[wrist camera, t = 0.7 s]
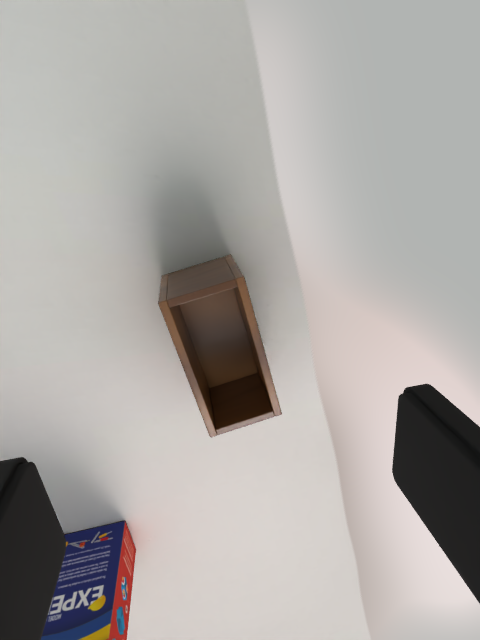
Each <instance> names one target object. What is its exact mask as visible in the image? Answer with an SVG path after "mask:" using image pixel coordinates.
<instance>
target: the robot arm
mask: <svg viewBox="0 0 480 640" xmlns="http://www.w3.org/2000/svg"><path fill="white" fill-rule="evenodd" d="M392 470H393V476H394V479H395V481H396V483H397V485H398V486H399V488H400V489H401V491H402V492H403V494H404V495H405V497H406V498H407V499H408V501H409V502H410V503H411V505H412V507H413V508H414V510H415V511H416V512H417V514H418V515H419V516H420V518H421V520H422V521H423V522H424V524H425V525H426V527H427V528H428V530H429V531H430V532H431V534H432V535H433V537H434V538H435V540H436V541H437V543H438V544H439V546H440V547H441V548H442V550H443V551H444V553H445V554H446V555H447V557H448V558H449V560H450V561H451V563H452V564H453V566H454V567H455V568H456V570H457V571H458V573H459V574H460V576H461V577H462V579H463V580H464V582H465V583H466V584H467V586H468V587H469V589H470V590H471V592H472V593H473V594H474V596H475V597H476V599H477V600H478V602H479V603H480V427H479V426H478V425H477V424H475V423H474V422H473V421H472V420H471V419H470V418H469V417H467V416H466V415H465V414H464V413H463V412H462V411H460V410H459V409H458V408H457V407H456V406H454V405H453V404H452V403H451V402H450V401H449V400H448V399H446V398H445V397H444V396H443V395H442V394H441V393H440V392H438V391H437V390H436V389H435V388H434V387H432V386H431V385H429V384H423V385H418V386H412V387H407V388H405V390H404V393H403V394H401V395H400V396H399V399H398V410H397V422H396V433H395V446H394V457H393V468H392ZM65 552H66V539H65V536H64V533H63V531H62V528H61V526H60V524H59V521H58V519H57V516H56V514H55V511H54V509H53V507H52V504H51V502H50V499H49V497H48V494H47V492H46V490H45V487H44V485H43V482H42V480H41V477H40V475H39V473H38V470H37V468H36V466H35V464H34V463H33V462H27V460H26V459H25V458H22V457H21V458H15V459H10V460H4V461H0V640H41V637H42V634H43V630H44V627H45V623H46V620H47V616H48V613H49V609H50V606H51V602H52V599H53V595H54V592H55V588H56V585H57V581H58V578H59V574H60V570H61V567H62V563H63V560H64V556H65Z"/></svg>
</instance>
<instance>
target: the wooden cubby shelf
mask: <svg viewBox="0 0 480 640" xmlns="http://www.w3.org/2000/svg"><path fill="white" fill-rule="evenodd" d="M158 304H159V307H160V309H161V312H162V314H163V317H164V320H165V322H166V325H167V327H168V330H169V332H170V335H171V338H172V340H173V343H174V345H175V348H176V350H177V353H178V356H179V358H180V361H181V363H182V366H183V368H184V371H185V374H186V376H187V379H188V381H189V384H190V386H191V389H192V392H193V394H194V397H195V399H196V402H197V404H198V407H199V410H200V412H201V415H202V417H203V420H204V422H205V425H206V428H207V430H208V433H209V435H210V437H213V436H217V435H220V434H223V433H226V432H229V431H232V430H235V429H238V428H241V427H244V426H247V425H250V424H253V423H257V422H260V421H263V420H266V419H269V418H272V417H274V416H278V415H281V414H282V413H281V409H280V406H279V402H278V398H277V395H276V391H275V387H274V384H273V380H272V376H271V373H270V369H269V365H268V362H267V358H266V355H265V351H264V347H263V344H262V340H261V336H260V333H259V329H258V325H257V322H256V318H255V314H254V311H253V307H252V303H251V300H250V296H249V293H248V289H247V285H246V282H245V278H244V276H243V274H242V272H241V271H240V269H239V267H238V266H237V264H236V262H235V261H234V259H233V258H232V256H231V255H227V256H224V257H221V258H217V259H214V260H211V261H208V262H204V263H201V264H198V265H194V266H191V267H188V268H185V269H181V270H178V271H175V272H172V273H168V274H165V275H162V278H161V286H160V293H159V301H158Z"/></svg>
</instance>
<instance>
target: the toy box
mask: <svg viewBox="0 0 480 640" xmlns="http://www.w3.org/2000/svg"><path fill="white" fill-rule="evenodd" d="M64 536H65V539H66V552H65V556H64V560H63V563H62V567H61V570H60V574H59V578H58V581H57V585H56V588H55V592H54V595H53V599H52V602H51V606H50V609H49V613H48V616H47V620H46V623H45V627H44V630H43V634H42V637H41V640H127V630H128V621H129V611H130V601H131V592H132V582H133V572H134V563H135V553H136V549H135V546H134V543H133V540H132V538H131V535H130V532H129V530H128V527H127V524H126V522H125V521H122V522H118V523H113V524H109V525H105V526H100V527H96V528H92V529H87V530H83V531H79V532H74V533H70V534H66V535H64Z"/></svg>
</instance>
